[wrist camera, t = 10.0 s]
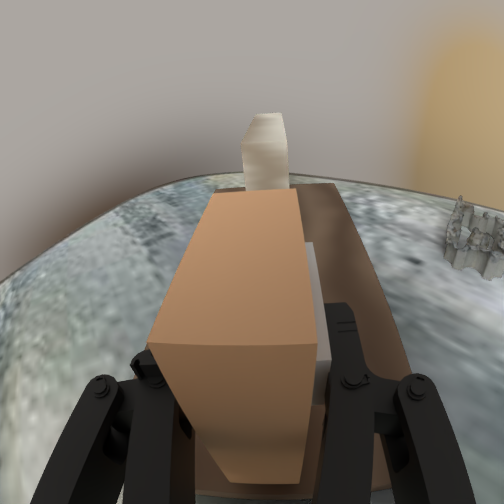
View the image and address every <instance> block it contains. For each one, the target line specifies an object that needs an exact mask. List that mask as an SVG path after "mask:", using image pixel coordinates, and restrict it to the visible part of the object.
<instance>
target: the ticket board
mask: <svg viewBox="0 0 504 504" xmlns="http://www.w3.org/2000/svg"><path fill="white" fill-rule="evenodd" d="M241 150H242V159H243V169H244V178H245V187H239V188H226V189H216V190H215V192H214V193H226V192H240V191H255V190H272V189H293V188H296V191H297V197H298V203H299V209H300V215H301V221H302V228H303V234H304V241H305V242H313V247H314V252H315V257H316V263H317V268H318V274H319V280H320V286H321V292H322V298H323V303H339V302H346V303H347V304H348V305H349V307H350V308H351V309H352V310H353V312H354V316H355V320H356V324H357V328H358V333H359V337H360V341H361V345H362V350H363V354H364V359H365V362H366V365H367V367H368V368H369V370H370V371H371V372H372V373H374V374H375V375H377V376H379V377H381V378H385V379H391V380H397V381H401V380H402V379H403V378H404V377H405V376H407V375H409V374H412V372H411V369H410V366H409V363H408V360H407V357H406V354H405V351H404V348H403V345H402V342H401V339H400V336H399V333H398V330H397V327H396V325H395V322H394V319H393V316H392V314H391V311H390V308H389V306H388V303H387V300H386V298H385V295H384V293H383V290H382V288H381V285H380V283H379V280H378V278H377V275H376V273H375V271H374V268H373V266H372V263H371V261H370V259H369V256H368V254H367V252H366V250H365V247H364V245H363V243H362V241H361V238H360V236H359V234H358V232H357V230H356V227H355V225H354V223H353V221H352V219H351V217H350V215H349V213H348V210H347V208H346V206H345V204H344V202H343V200H342V198H341V196H340V194H339V192H338V190H337V188H336V186H335V184H334V183H319V184H292V185H289V169H288V152H287V139H286V134H285V129H284V124H283V119H282V114H281V113H266V114H256V115H255V117H254V119H253V121H252V123H251V124H250V127H249V128H248V130H247V132H246V134H245V136H244V138H243V140H242V142H241ZM148 349H149V346H148V344H147V345H146V347H145V350H148ZM136 378H137V376H136V374H135V376H134V378H133V379H136ZM324 415H325V401H324V405H311V410H310V418H309V425H308V432H307V439H306V446H305V452H304V459H303V465H302V470H301V476H300V482H299V484H248V483H232V482H229V480H228V479H227V478H226V476H225V475H224V473H223V472H222V471H221V469H220V468H219V466H218V465H217V463H216V462H215V460H214V459H213V458H212V456H211V455H210V453H209V452H208V450H207V449H206V447H205V445H204V444H203V442H202V441H201V439H200V438H199V436H198V435H197V433H196V431H195V494H198V495H206V496H215V497H225V498H237V499H256V500H298V499H312V497H313V492H314V486H315V480H316V473H317V467H318V460H319V453H320V446H321V438H322V430H323V426H322V424H323V419H324ZM389 488H392V485H391V481H390V476H389V472H388V468H387V463H386V459H385V455H384V451H383V447H382V443H381V439H380V435H379V434H378V433H374V453H373V472H372V486H371V492H374V491H379V490H385V489H389Z"/></svg>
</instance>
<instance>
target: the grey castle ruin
mask: <svg viewBox="0 0 504 504" xmlns="http://www.w3.org/2000/svg"><path fill="white" fill-rule="evenodd" d="M461 226H464V227H467V228H468V229H469V230H470V231H471V232H472V233H471V235H470V237H469V238H468V239H467V242H468V243H467V244H466V245H465V247H464V248H463V249H458V248H457V245H458V241H459V237H460V233H461ZM490 235H491V236H492V237H493V239H494V243H493V246H492V250H493V251H492V250H489V249H487V248H488V245H489V239H490ZM446 244H447V247H446V251H445V254H444V259H446V260H448V261H449V262H450V263H451V265H452V268H454V269H457V270H460V271H461V270H462V269H463V268H466V267H470V268H474V269H476V270H477V271H478V272H479V273H480V274H481V276H482V278H484V279H486V280H489V281H491V280H492V279H493V278H496V277H497V278H501V277H502V274H503V272H504V220H502V219H500V218H498V217H497V216H496V217H495V218H494V217H490V216H489V215H488V213H487V212H485V213H484V214H483V216H482V217H481V216H477V215H474V207H473V205H471V204H470V203H467V202H464V201H462V196H459V198H458V200H457V202H456V205H455V208H454V211H453V213H452V215H451V219H450V221H449V223H448V226H447V239H446Z"/></svg>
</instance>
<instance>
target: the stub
mask: <svg viewBox="0 0 504 504" xmlns="http://www.w3.org/2000/svg"><path fill="white" fill-rule="evenodd" d="M147 344H148V346H149V349H150V351H151V353H152V355H153V357H154V359H155V361H156V362H157V364H158V366H159V368H160V370H161V372H162V374H163V376H164V378H165V380H166V382H167V383H168V385H169V387H170V389H171V391H172V392H173V394H174V396H175V398H176V400H177V401H178V403H179V405H180V406H181V408H182V410H183V412H184V413H185V415H186V417H187V418H188V420H189V422H190V423H191V425H192V427H193V428H194V430H195V431H196V433H197V435H198V436H199V438H200V439H201V441H202V442H203V444H204V445H205V447H206V449H207V450H208V452H209V453H210V455H211V456H212V458H213V459H214V460H215V462H216V463H217V465H218V466H219V468H220V469H221V471H222V472H223V473H224V475H225V476H226V478H227V479H228V480H229V482H232V483H248V484H299V482H300V476H301V470H302V465H303V459H304V452H305V446H306V439H307V432H308V425H309V418H310V410H311V402H312V394H313V386H314V376H315V367H316V357H317V346H318V341H317V332H316V323H315V315H314V306H313V298H312V290H311V283H310V275H309V268H308V261H307V254H306V247H305V241H304V234H303V228H302V221H301V215H300V209H299V203H298V197H297V191H296V188H293V189H272V190H255V191H240V192H226V193H213V195H212V197H211V199H210V201H209V203H208V205H207V207H206V209H205V211H204V213H203V215H202V217H201V219H200V221H199V224H198V226H197V228H196V230H195V232H194V234H193V236H192V238H191V240H190V243H189V245H188V247H187V249H186V251H185V253H184V256H183V258H182V260H181V262H180V264H179V267H178V269H177V271H176V273H175V276H174V278H173V280H172V282H171V285H170V287H169V289H168V291H167V294H166V296H165V298H164V301H163V303H162V305H161V308H160V310H159V313H158V315H157V317H156V320H155V322H154V325H153V327H152V329H151V332H150V334H149V337H148V339H147Z"/></svg>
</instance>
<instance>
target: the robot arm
mask: <svg viewBox="0 0 504 504" xmlns="http://www.w3.org/2000/svg"><path fill="white" fill-rule="evenodd" d="M305 247H306V254H307V261H308V268H309V275H310V283H311V290H312V298H313V306H314V315H315V323H316V332H317V341H318V346H317V357H316V367H315V376H314V386H313V394H312V402H311V405H324V401H325V415H324V419H323V424H322V426H323V430H322V438H321V446H320V453H319V460H318V467H317V473H316V480H315V486H314V492H313V497H312V503H311V504H370V497H371V486H372V472H373V453H374V433H378V434H379V435H380V439H381V443H382V447H383V451H384V455H385V459H386V463H387V468H388V472H389V476H390V481H391V485H392V490H393V495H394V499H395V504H476V501H475V498H474V494H473V490H472V487H471V483H470V480H469V476H468V473H467V470H466V467H465V464H464V460H463V457H462V454H461V451H460V449H459V446H458V443H457V440H456V437H455V434H454V432H453V429H452V426H451V424H450V421H449V418H448V416H447V413H446V411H445V408H444V406H443V403H442V401H441V398H440V396H439V394H438V391H437V389H436V387H435V385H434V383H433V382H432V380H431V379H430V378H428V377H427V376H425V375H422V374H418V373H416V374H409V375H407V376H405V377H404V378H403V379H402V380H401V381H397V380H391V379H385V378H381V377H379V376H377V375H375V374H374V373H372V372H371V371H370V370H369V368H368V367H367V365H366V362H365V359H364V354H363V350H362V345H361V341H360V337H359V333H358V328H357V324H356V320H355V316H354V312H353V310H352V309H351V308H350V307H349V305H348V304H347V303H346V302H339V303H323V298H322V292H321V286H320V280H319V274H318V268H317V263H316V257H315V252H314V247H313V242H305ZM130 366H131V368H132V370H133V371H134V373H135V374H136V376H137V378H136V379H132V380H126V381H120V382H117V381H116V380H115V378H114V377H112V376H110V375H99V376H96V377H95V378H93V379H92V380H91V381H90V382H89V383H88V384H87V386H86V388H85V390H84V391H83V393H82V395H81V397H80V399H79V401H78V403H77V405H76V406H75V408H74V410H73V412H72V414H71V416H70V418H69V420H68V422H67V424H66V426H65V428H64V430H63V432H62V434H61V436H60V438H59V440H58V442H57V444H56V446H55V448H54V450H53V453H52V455H51V457H50V459H49V461H48V463H47V465H46V468H45V470H44V472H43V474H42V477H41V479H40V481H39V483H38V486H37V488H36V490H35V493H34V495H33V498H32V500H31V503H30V504H116V503H117V500H118V497H119V495H120V492H121V489H122V486H123V484H124V491H123V503H122V504H195V430H194V428H193V427H192V425H191V423H190V422H189V420H188V418H187V417H186V415H185V413H184V412H183V410H182V408H181V406H180V405H179V403H178V401H177V400H176V398H175V396H174V394H173V392H172V391H171V389H170V387H169V385H168V383H167V382H166V380H165V378H164V376H163V374H162V372H161V370H160V368H159V366H158V364H157V362H156V361H155V359H154V357H153V355H152V353H151V351H150V349H148V350H144V351H142V352H140V353H138V354H137V355H136V356H135V357H134V358H133V359H132V361H131V364H130Z"/></svg>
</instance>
